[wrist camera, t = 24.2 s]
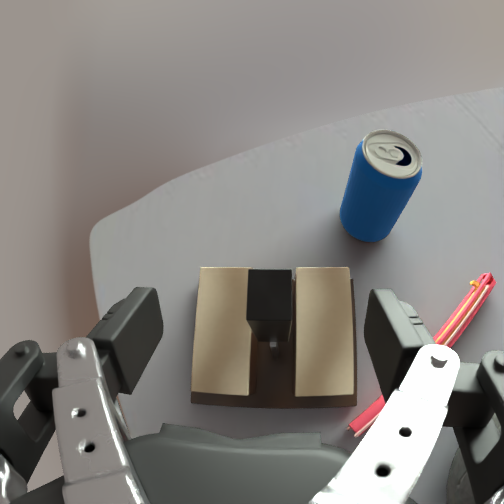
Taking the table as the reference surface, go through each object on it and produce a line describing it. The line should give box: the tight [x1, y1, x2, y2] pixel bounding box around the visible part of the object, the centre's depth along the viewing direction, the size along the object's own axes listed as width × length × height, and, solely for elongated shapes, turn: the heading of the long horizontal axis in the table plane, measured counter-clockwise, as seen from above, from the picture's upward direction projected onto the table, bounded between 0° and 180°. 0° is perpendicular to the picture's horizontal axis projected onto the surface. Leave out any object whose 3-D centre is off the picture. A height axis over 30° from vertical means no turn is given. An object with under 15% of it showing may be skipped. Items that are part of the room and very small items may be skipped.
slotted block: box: [191, 267, 357, 408], centre depth 26 cm, size 16×13×8 cm
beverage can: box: [340, 130, 422, 242], centre depth 29 cm, size 6×6×12 cm
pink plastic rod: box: [346, 273, 496, 437], centre depth 27 cm, size 24×2×5 cm
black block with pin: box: [246, 269, 292, 359], centre depth 21 cm, size 2×3×17 cm, turn 178°
